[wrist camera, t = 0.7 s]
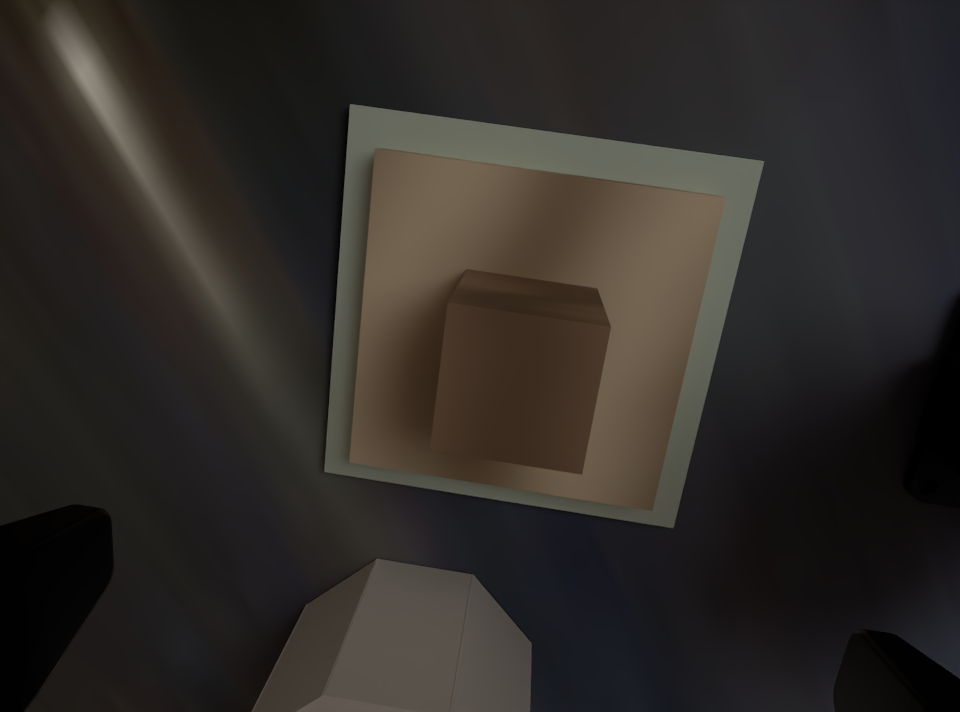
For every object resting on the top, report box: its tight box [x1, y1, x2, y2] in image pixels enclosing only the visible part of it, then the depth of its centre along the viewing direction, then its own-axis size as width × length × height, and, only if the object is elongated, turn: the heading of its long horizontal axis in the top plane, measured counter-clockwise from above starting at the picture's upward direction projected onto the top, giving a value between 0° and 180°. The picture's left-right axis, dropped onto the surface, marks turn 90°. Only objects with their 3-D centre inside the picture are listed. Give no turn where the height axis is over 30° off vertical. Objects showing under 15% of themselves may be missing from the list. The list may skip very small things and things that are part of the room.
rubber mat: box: [324, 104, 764, 528], centre depth 20 cm, size 11×11×1 cm
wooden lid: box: [349, 148, 726, 511], centre depth 18 cm, size 9×9×5 cm
